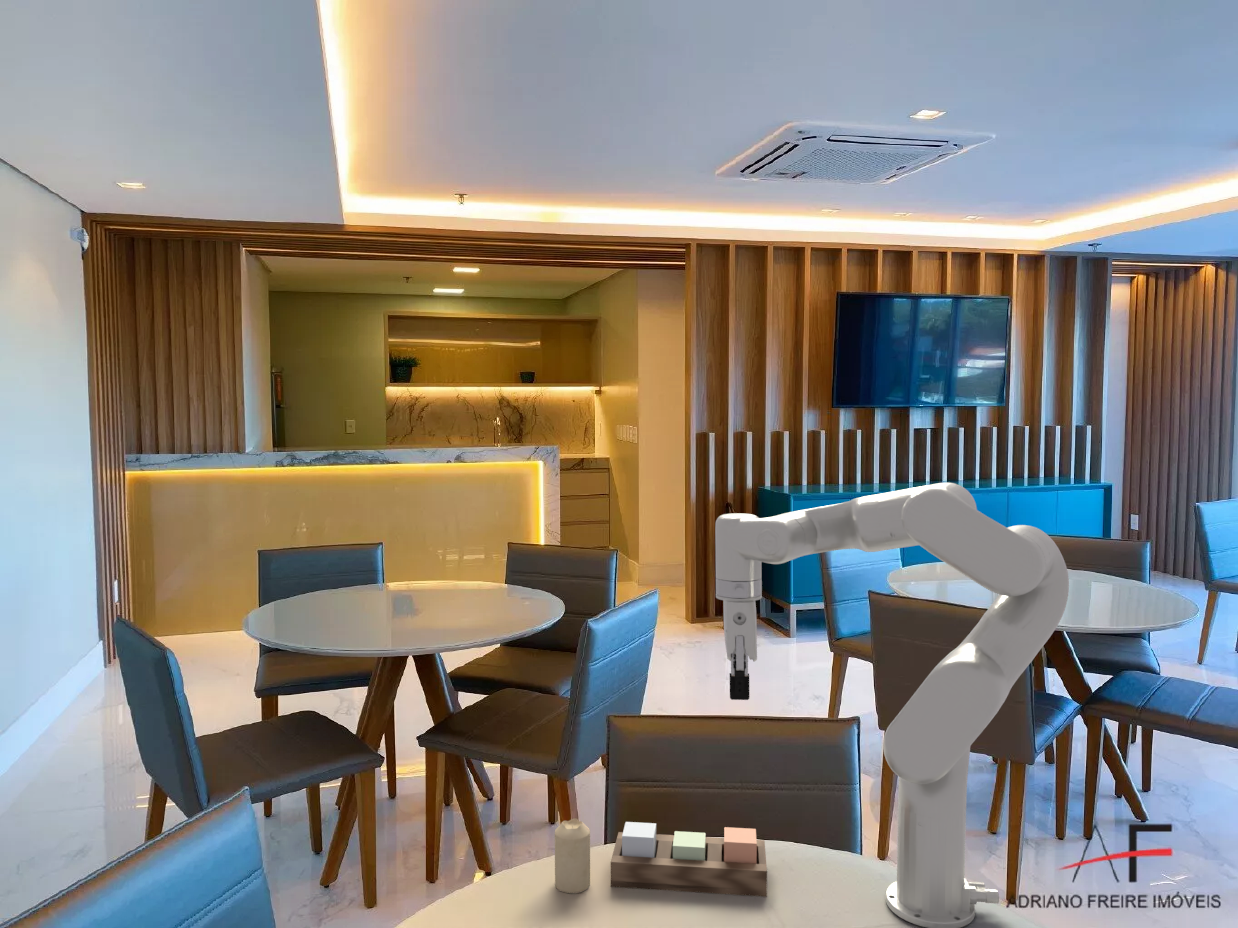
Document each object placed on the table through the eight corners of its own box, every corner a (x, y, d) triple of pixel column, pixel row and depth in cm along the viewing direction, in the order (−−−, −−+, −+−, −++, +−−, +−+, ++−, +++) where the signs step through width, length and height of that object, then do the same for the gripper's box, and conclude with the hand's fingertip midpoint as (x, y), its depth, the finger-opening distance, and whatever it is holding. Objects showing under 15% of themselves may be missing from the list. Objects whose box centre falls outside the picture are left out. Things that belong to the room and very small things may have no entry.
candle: (550, 891, 139) (549, 828, 138) (561, 873, 144) (560, 812, 144) (584, 895, 137) (584, 832, 137) (594, 877, 143) (594, 816, 142)
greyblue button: (656, 850, 147) (656, 823, 146) (653, 865, 142) (653, 837, 141) (625, 848, 147) (625, 821, 147) (622, 863, 142) (622, 836, 142)
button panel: (764, 864, 147) (764, 840, 147) (766, 896, 137) (767, 871, 137) (618, 855, 150) (618, 832, 150) (610, 886, 140) (610, 861, 140)
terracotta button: (755, 856, 145) (755, 828, 144) (756, 871, 140) (756, 843, 139) (724, 854, 145) (724, 827, 145) (724, 869, 140) (724, 841, 140)
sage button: (705, 859, 146) (705, 832, 145) (704, 875, 141) (704, 847, 140) (674, 858, 146) (674, 831, 146) (672, 873, 141) (672, 845, 141)
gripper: (764, 597, 141) (764, 713, 142) (759, 580, 156) (760, 685, 156) (715, 597, 141) (716, 712, 142) (715, 580, 156) (716, 684, 157)
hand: (739, 698), depth 149 cm, fingers closed
